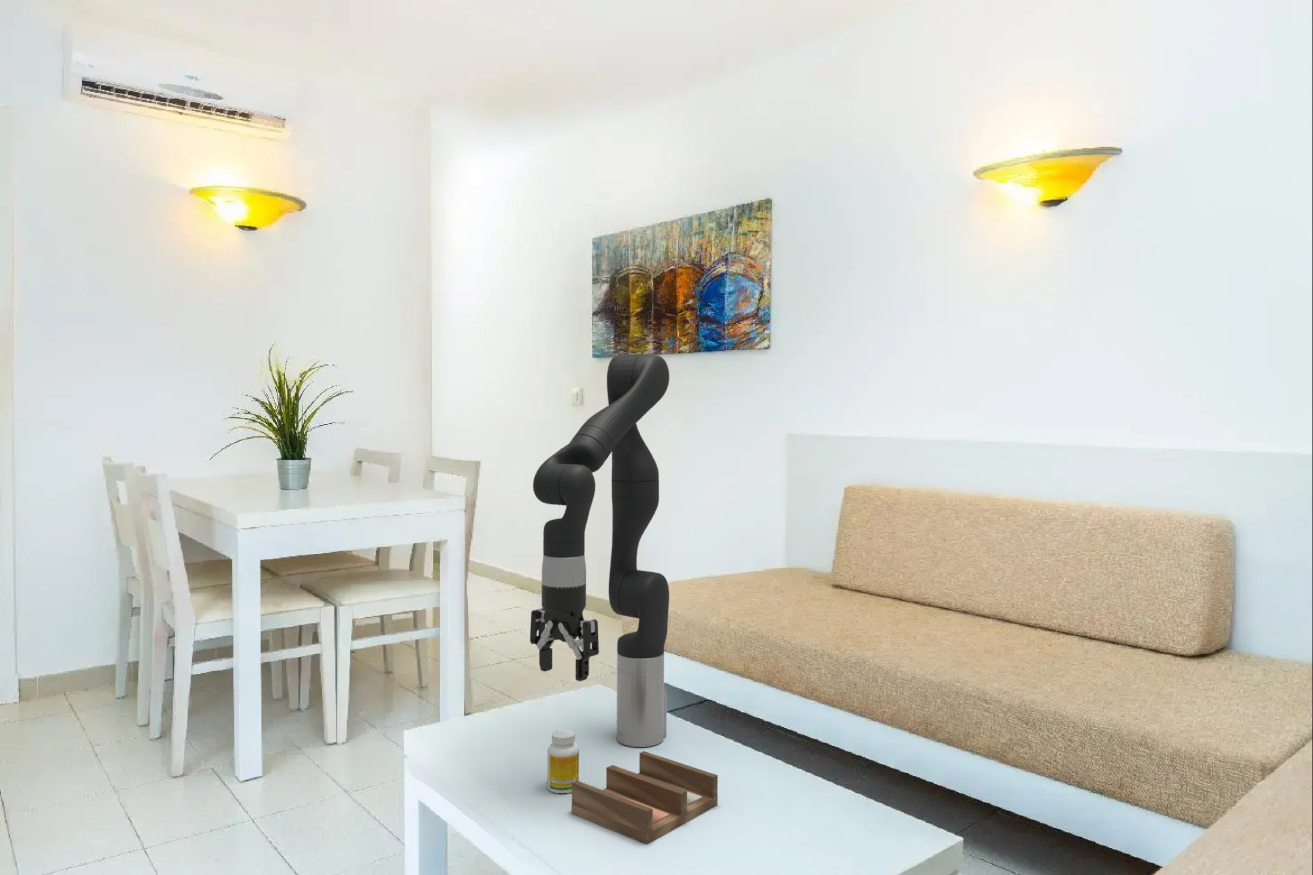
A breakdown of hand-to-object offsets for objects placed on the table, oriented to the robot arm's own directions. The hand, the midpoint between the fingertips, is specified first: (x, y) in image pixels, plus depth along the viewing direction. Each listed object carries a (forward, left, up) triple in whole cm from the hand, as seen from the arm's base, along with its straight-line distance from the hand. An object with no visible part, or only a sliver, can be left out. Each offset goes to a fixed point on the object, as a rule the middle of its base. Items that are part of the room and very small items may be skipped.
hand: (563, 675), depth 161 cm
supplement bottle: (0, 0, -20) cm, 20 cm away
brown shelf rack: (-3, +16, -20) cm, 25 cm away
